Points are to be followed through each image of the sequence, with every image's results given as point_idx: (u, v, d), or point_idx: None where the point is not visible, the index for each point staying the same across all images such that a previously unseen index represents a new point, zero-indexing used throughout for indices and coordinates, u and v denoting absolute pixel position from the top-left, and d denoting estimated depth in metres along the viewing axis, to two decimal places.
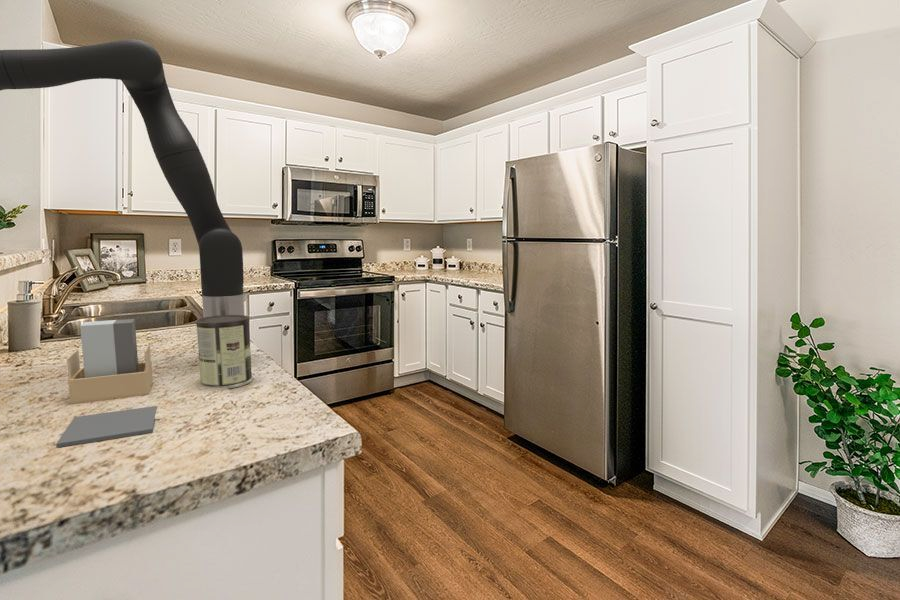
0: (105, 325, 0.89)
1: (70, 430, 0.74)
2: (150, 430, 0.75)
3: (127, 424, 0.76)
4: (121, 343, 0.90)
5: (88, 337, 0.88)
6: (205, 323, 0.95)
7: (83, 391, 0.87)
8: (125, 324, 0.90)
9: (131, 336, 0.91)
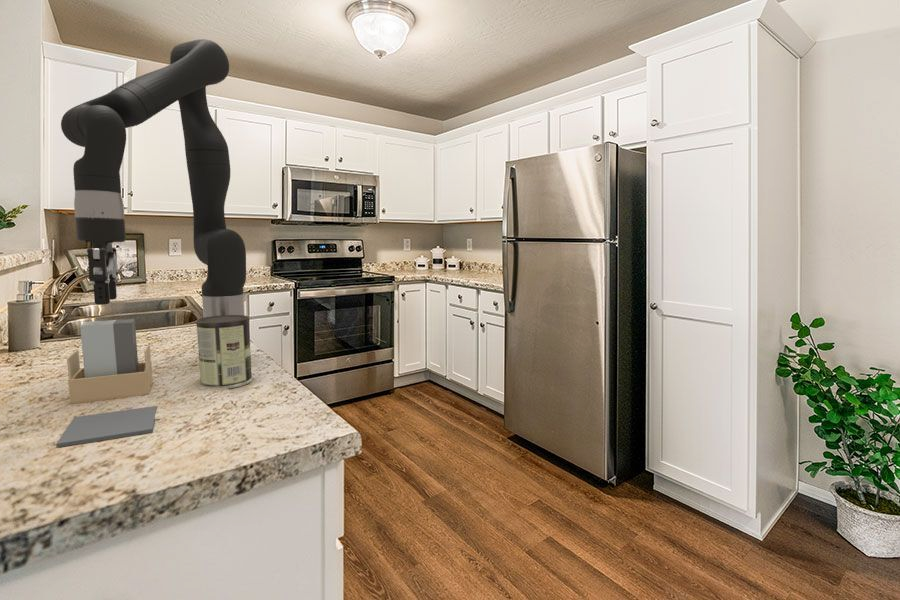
0: (105, 325, 0.89)
1: (70, 430, 0.74)
2: (150, 430, 0.75)
3: (127, 424, 0.76)
4: (121, 343, 0.90)
5: (88, 337, 0.88)
6: (205, 323, 0.95)
7: (83, 391, 0.87)
8: (125, 324, 0.90)
9: (131, 336, 0.91)
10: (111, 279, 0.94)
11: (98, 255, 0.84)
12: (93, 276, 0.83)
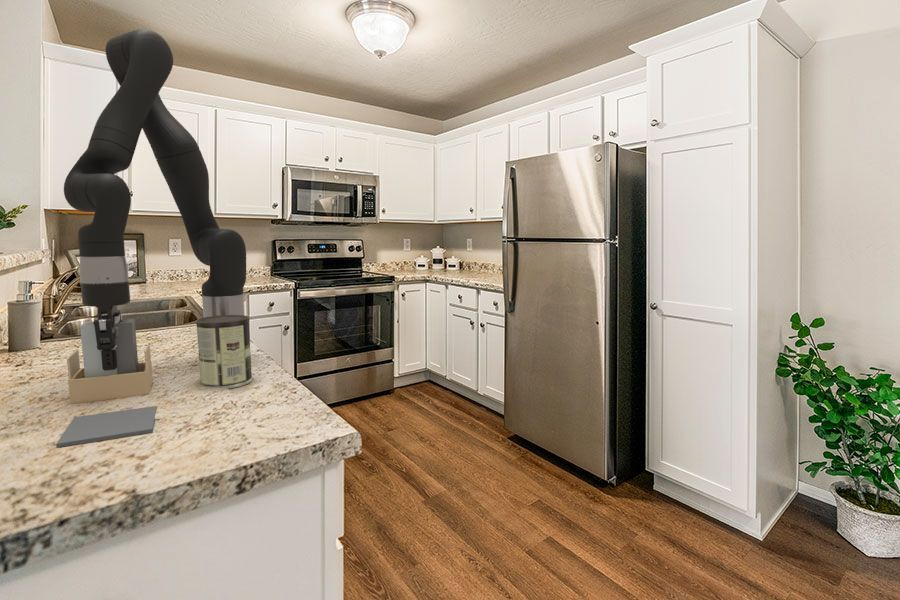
0: None
1: (70, 430, 0.74)
2: (150, 430, 0.75)
3: (127, 424, 0.76)
4: (121, 343, 0.90)
5: (88, 337, 0.88)
6: (205, 323, 0.95)
7: (83, 391, 0.87)
8: (125, 324, 0.90)
9: (131, 336, 0.91)
10: None
11: (104, 327, 0.85)
12: (101, 345, 0.86)
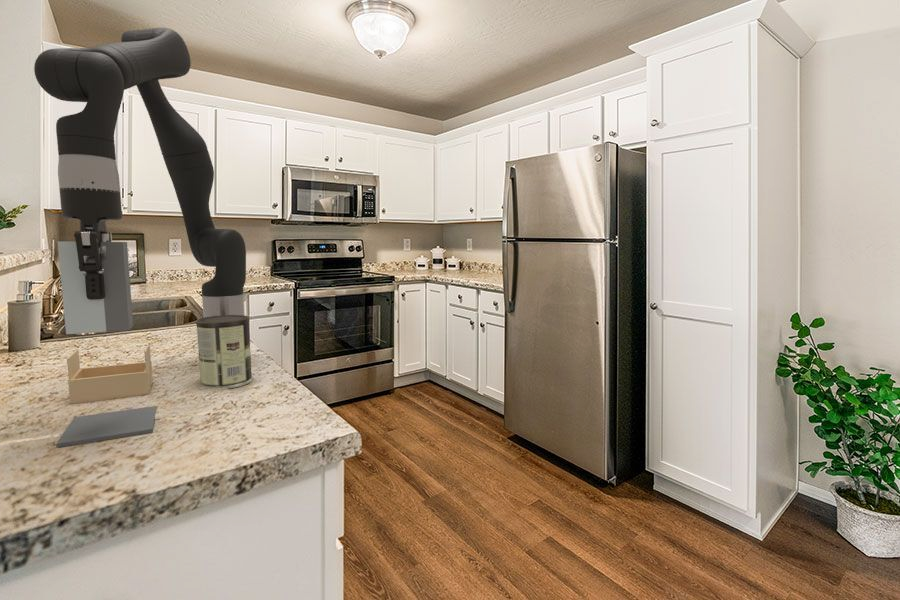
0: None
1: (70, 430, 0.74)
2: (150, 430, 0.75)
3: (127, 424, 0.76)
4: (109, 267, 0.73)
5: (68, 257, 0.70)
6: (205, 323, 0.95)
7: (83, 391, 0.87)
8: (114, 243, 0.73)
9: (122, 259, 0.73)
10: None
11: (88, 241, 0.68)
12: (84, 265, 0.69)
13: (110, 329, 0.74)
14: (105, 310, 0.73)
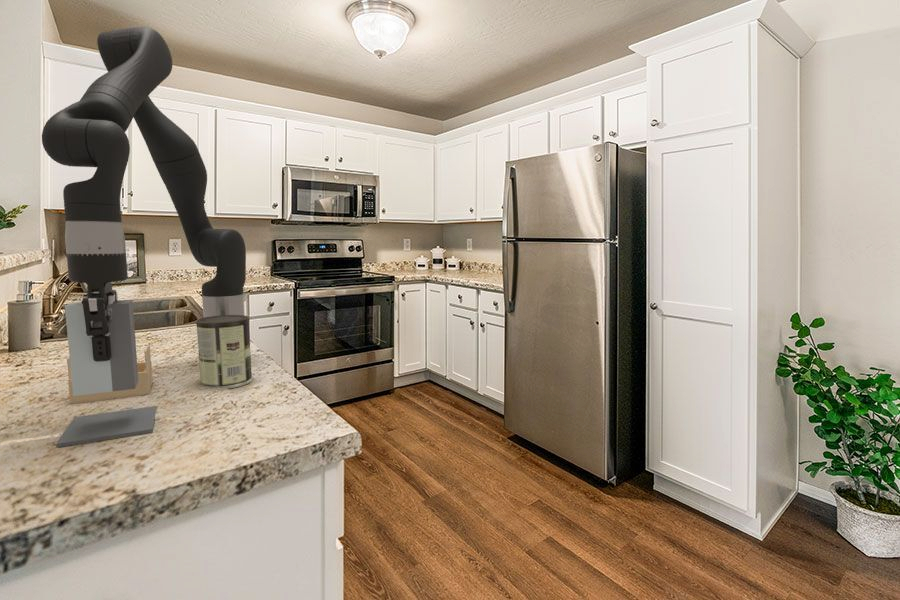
0: None
1: (70, 430, 0.74)
2: (150, 430, 0.75)
3: (127, 424, 0.76)
4: (116, 328, 0.74)
5: (75, 321, 0.71)
6: (205, 323, 0.95)
7: None
8: (120, 305, 0.74)
9: (128, 320, 0.75)
10: None
11: (95, 307, 0.69)
12: (91, 330, 0.70)
13: (116, 389, 0.75)
14: (111, 370, 0.74)
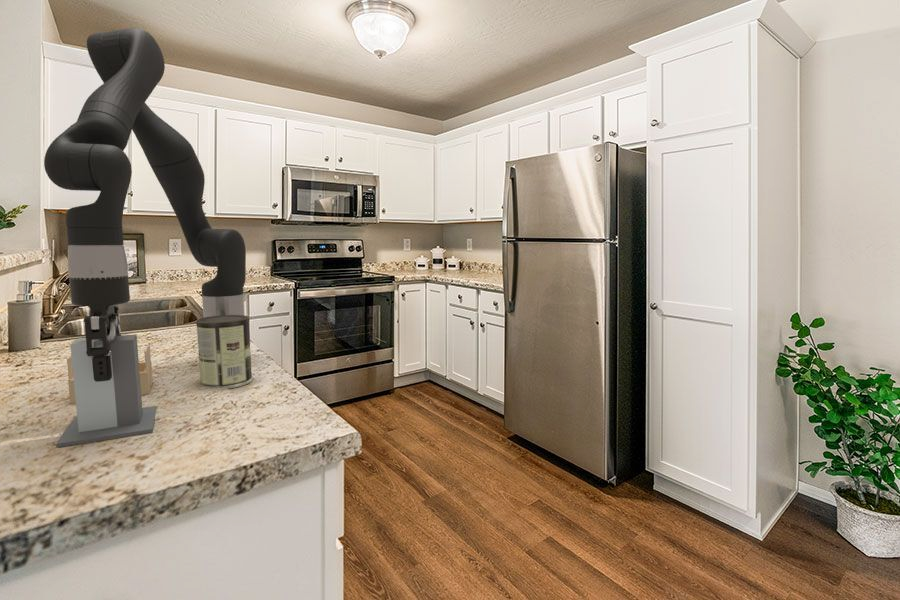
0: None
1: (70, 430, 0.74)
2: (150, 430, 0.75)
3: None
4: (120, 364, 0.75)
5: (80, 358, 0.72)
6: (205, 323, 0.95)
7: None
8: (125, 342, 0.75)
9: (132, 356, 0.75)
10: None
11: (97, 325, 0.69)
12: (92, 350, 0.69)
13: (121, 424, 0.76)
14: (116, 406, 0.75)
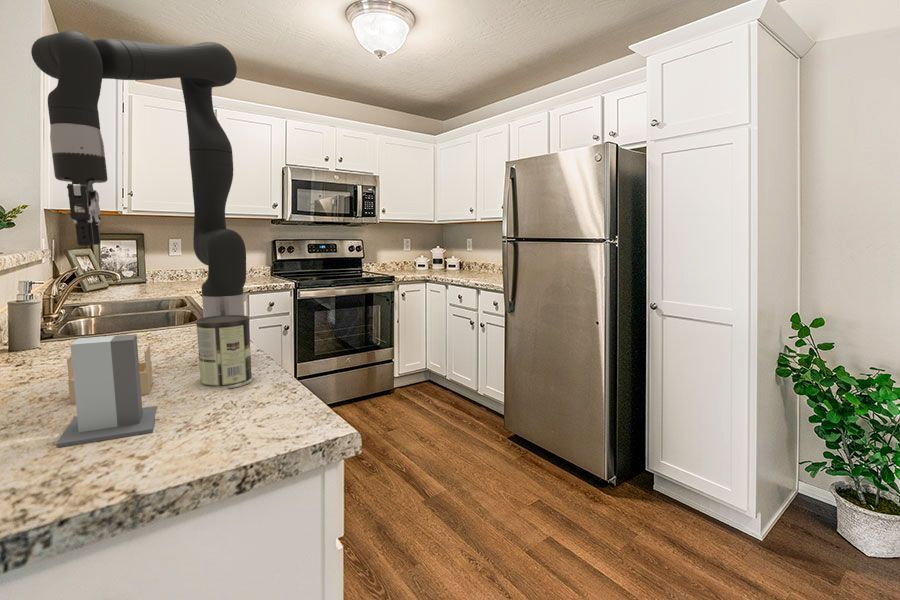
0: (101, 343, 0.73)
1: (70, 430, 0.74)
2: (150, 430, 0.75)
3: None
4: (120, 364, 0.75)
5: (80, 358, 0.72)
6: (205, 323, 0.95)
7: None
8: (125, 342, 0.75)
9: (132, 356, 0.75)
10: (93, 223, 0.89)
11: (79, 191, 0.79)
12: (75, 214, 0.79)
13: (121, 424, 0.76)
14: (116, 406, 0.75)
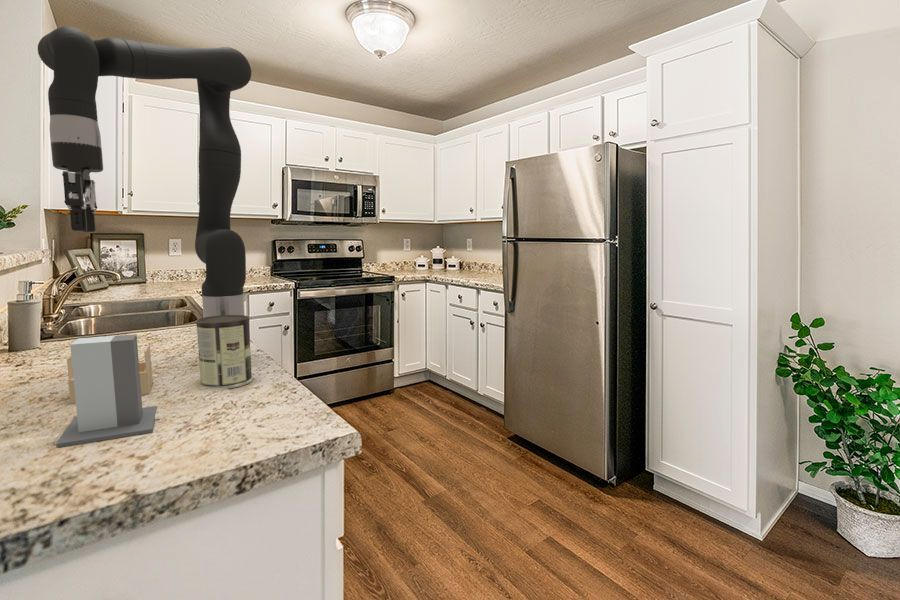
0: (101, 343, 0.73)
1: (70, 430, 0.74)
2: (150, 430, 0.75)
3: None
4: (120, 364, 0.75)
5: (80, 358, 0.72)
6: (205, 323, 0.95)
7: None
8: (125, 342, 0.75)
9: (132, 356, 0.75)
10: (89, 211, 0.93)
11: (74, 179, 0.83)
12: (69, 200, 0.83)
13: (121, 424, 0.76)
14: (116, 406, 0.75)
